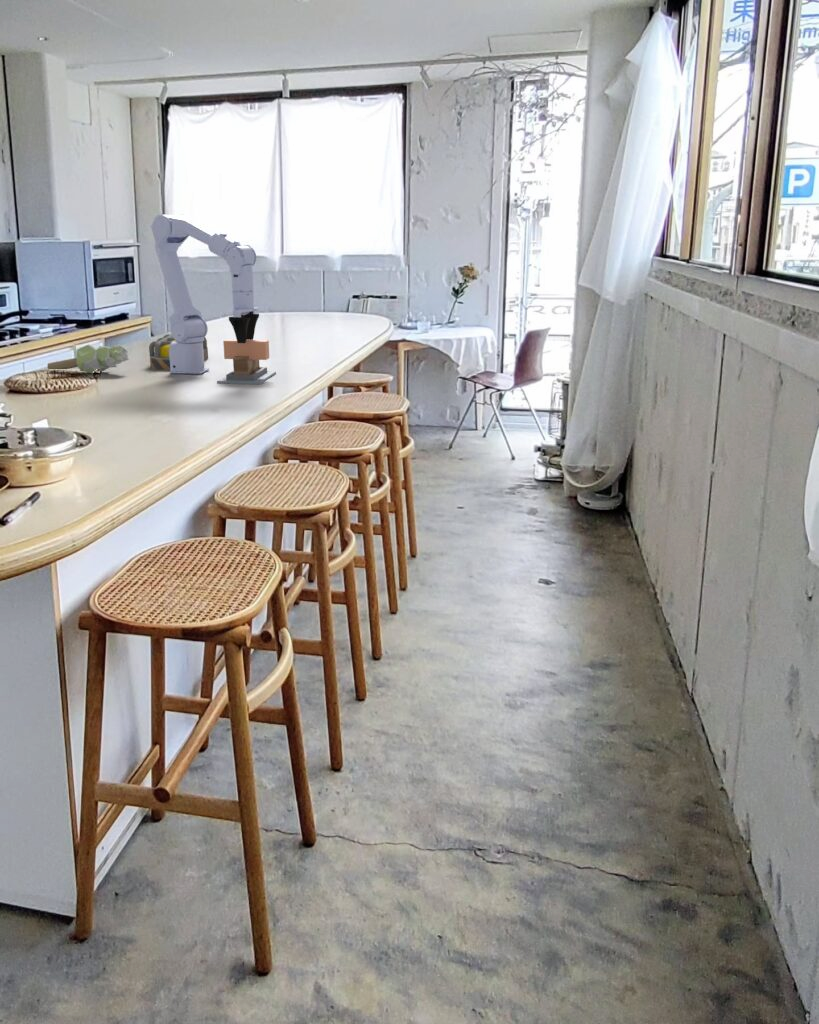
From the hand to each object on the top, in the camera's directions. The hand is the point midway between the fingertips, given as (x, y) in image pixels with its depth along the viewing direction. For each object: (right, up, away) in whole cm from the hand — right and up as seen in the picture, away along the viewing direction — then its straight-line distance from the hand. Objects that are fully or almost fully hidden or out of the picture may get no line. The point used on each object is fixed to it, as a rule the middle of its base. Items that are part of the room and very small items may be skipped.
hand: (245, 341), depth 235 cm
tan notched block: (0, -9, +3) cm, 10 cm away
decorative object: (-48, -8, +9) cm, 49 cm away
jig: (0, -10, +3) cm, 10 cm away
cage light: (-27, -1, +31) cm, 41 cm away
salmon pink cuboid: (0, -5, +2) cm, 5 cm away
